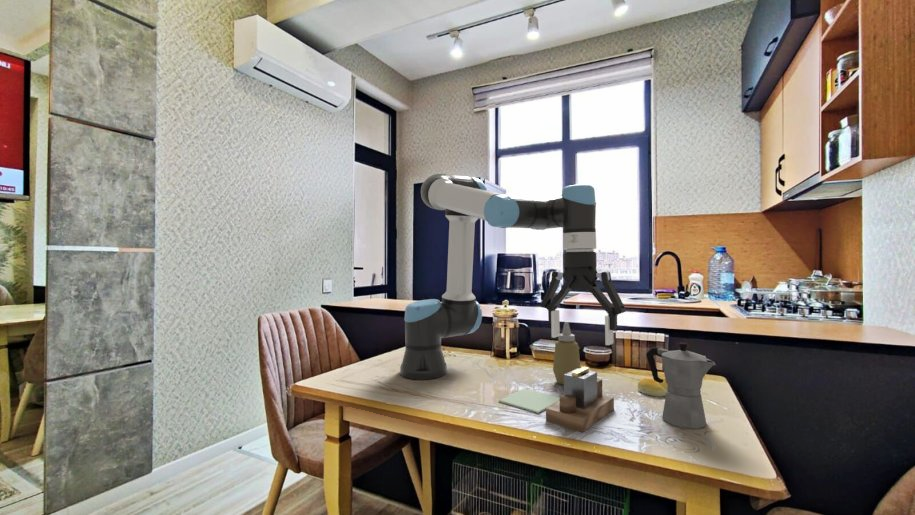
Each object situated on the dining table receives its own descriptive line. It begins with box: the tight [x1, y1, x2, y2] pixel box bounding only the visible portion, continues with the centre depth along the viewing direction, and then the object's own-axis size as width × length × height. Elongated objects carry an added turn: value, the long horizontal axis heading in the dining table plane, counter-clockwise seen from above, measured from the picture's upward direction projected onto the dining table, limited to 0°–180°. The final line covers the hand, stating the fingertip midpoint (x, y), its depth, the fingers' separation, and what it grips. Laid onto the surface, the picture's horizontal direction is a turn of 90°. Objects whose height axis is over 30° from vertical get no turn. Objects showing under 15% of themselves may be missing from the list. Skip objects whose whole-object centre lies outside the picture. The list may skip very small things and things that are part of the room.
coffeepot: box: [646, 341, 716, 430], centre depth 94 cm, size 15×9×18 cm, turn 35°
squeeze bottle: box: [552, 321, 582, 386], centre depth 121 cm, size 8×8×18 cm
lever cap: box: [563, 366, 598, 409], centre depth 97 cm, size 5×7×8 cm
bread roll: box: [637, 376, 667, 397], centre depth 113 cm, size 8×9×4 cm
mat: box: [498, 387, 560, 414], centre depth 107 cm, size 12×12×1 cm
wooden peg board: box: [545, 377, 615, 433], centre depth 97 cm, size 17×9×7 cm, turn 137°
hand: (581, 340), depth 97 cm, fingers open, 13 cm apart
